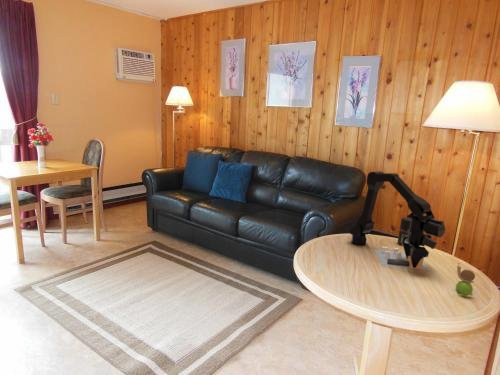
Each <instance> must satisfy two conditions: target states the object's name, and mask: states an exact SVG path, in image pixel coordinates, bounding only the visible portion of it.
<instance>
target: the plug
mask: <svg viewBox="0 0 500 375" xmlns="http://www.w3.org/2000/svg"><path fill="white" fill-rule="evenodd" d="M423 262H424V260H422V259H421V260H420V261H419V263H418V265H417V266H416V269H415V270H419V269H422V264H423ZM387 263H388V264H395V265H404V266H409V268H408V269H411V268H413V266H412V261H411V256H408V260H407V261H404V260H396V259H387Z"/></svg>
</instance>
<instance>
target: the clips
mask: <svg viewBox="0 0 500 375" xmlns="http://www.w3.org/2000/svg"><path fill="white" fill-rule="evenodd" d="M388 248H389V247H387V246H382V249H381V250H382V253H384V254H385V256H384V257H385V258H390V250H388ZM392 251H393V255H396V259H400V260H401V255H402V253H403V252H400V251H399V248H398V247H393V250H392Z"/></svg>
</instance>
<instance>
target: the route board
mask: <svg viewBox="0 0 500 375" xmlns="http://www.w3.org/2000/svg"><path fill="white" fill-rule="evenodd" d="M389 251H390V250H389ZM374 252H375V253H376V256H377V258H378V260H379V261H380V263H381V265H382V266H387V267H396V268H403V269H412V270H417V269H416V268H409V266H404V265H395V264H388V263H387V259H396V255H393V250H391V251H390V258H385V257H384V256H385V254H384V253H382V249H374ZM401 253H402V255H401V260H404V261H407V260H408V259H407V258H406V255H405V252H401ZM396 260H400V259H396ZM418 270H420V271H429V272H430V271H431V269H430V268H429V267H428V265H427V264H425V262H424V261H423V264H422V269H418Z"/></svg>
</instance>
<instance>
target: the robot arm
mask: <svg viewBox="0 0 500 375" xmlns="http://www.w3.org/2000/svg"><path fill="white" fill-rule="evenodd" d="M385 183H389V184H390V185H391V186H392V187H393V188H394V189H395V191H397V193H399V195H400V196H401V197H402V199H403V200H405V201H406V204H407V208H408V209H409V211H410V213H409V214H407V215H406V218H411V224H410V229H409V230H408V233H409V235H405V234H404V235H402V236H401V241H402V245H403V246H402V248H403V251H404V253H405V255H406V258H407V259H408V256H411V261H412V266H413V268H416V266H417V265H418V263H419V261H420V260H421V259H422V258H428V257H429V254H430V251H429V250H428V249H427V248H426V247H429V248H430V249H432V250H434V249H435V248H436V246H437V244H438V242H437V241H436V240H435V239H433V238H432V236H434V237H437V238H442V237H443V236H444V235H445V232H446V226H445V224H444V223H445V222H444V221H443V220H439V219H436V217H435V215H434V213H433V212H432V209H431V207H432V206H431V203H429V202H428V201H427V200H425V199H424V198H422V197H421V196H420V195H419V196H418V195H417V194H416V193H415V192H414V191H413V190H412V189H411V188H410V186H408V185H407V183H405V181H404V180H403V179H402V178H401V177H400V175H399V174H398V173H396V172H393V173H392V172H389V173H385V172H383V171H382V170H381V171H380V170H379V171H378V170H376V171H370V172H369V173H367V176H366V187H367V191H366V196H365V199H364V204H363V207H362V211H361V214H360V216H359V217H358V219H357V220H356V222H355V224H354V226H352V228H350V229H349V234H350V235H351V240H350V242H351V244H352V245H355V246H358V247H359V246H366V244H367V240H368V239H367V235H369V233H370V232H372V230H374V227H375V226H374V225H375V224H376V223H375V221H374V220H373V213H374V210H375V205H376V201H377V198H378V194H379V192H380V189H381V188H382V187H383V185H384V184H385ZM425 246H426V247H425Z"/></svg>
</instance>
